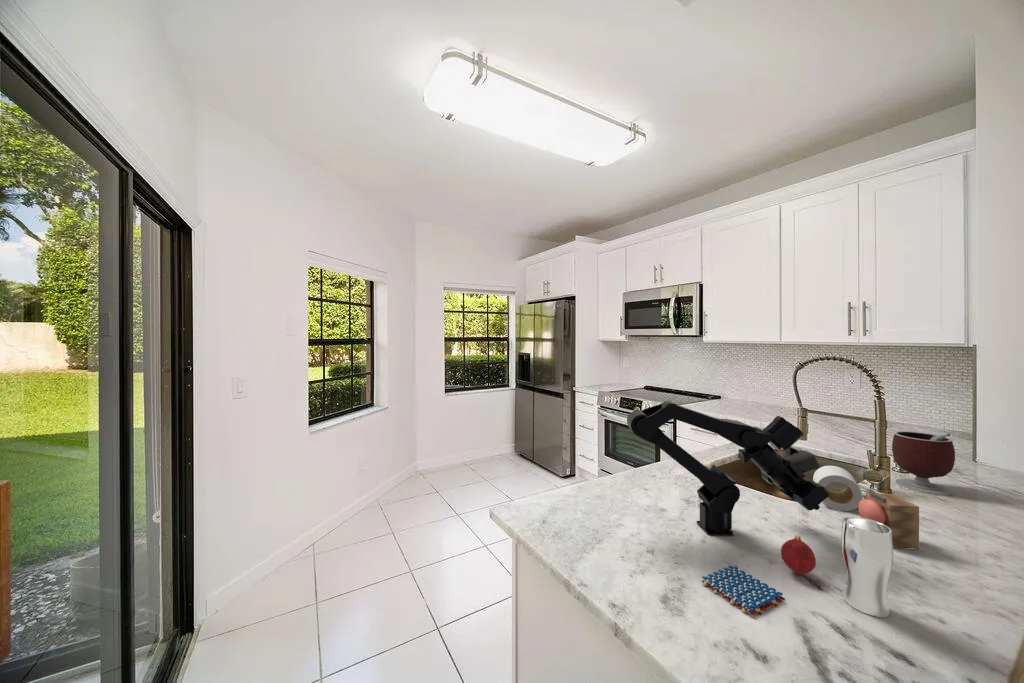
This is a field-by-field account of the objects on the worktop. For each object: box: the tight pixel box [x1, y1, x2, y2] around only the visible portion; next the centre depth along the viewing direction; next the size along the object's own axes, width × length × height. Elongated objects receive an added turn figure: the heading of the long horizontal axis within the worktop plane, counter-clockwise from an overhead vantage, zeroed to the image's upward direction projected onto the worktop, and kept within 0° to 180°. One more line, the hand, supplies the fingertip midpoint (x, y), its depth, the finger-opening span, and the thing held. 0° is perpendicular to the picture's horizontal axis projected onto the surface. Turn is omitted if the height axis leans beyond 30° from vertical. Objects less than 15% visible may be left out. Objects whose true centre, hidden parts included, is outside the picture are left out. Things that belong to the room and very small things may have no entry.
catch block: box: [865, 491, 920, 550], centre depth 90 cm, size 6×7×11 cm
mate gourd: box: [891, 430, 956, 496], centre depth 121 cm, size 16×14×20 cm
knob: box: [857, 498, 886, 524], centre depth 90 cm, size 8×6×6 cm
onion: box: [780, 534, 817, 576], centre depth 77 cm, size 6×6×8 cm
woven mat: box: [701, 565, 786, 618], centre depth 72 cm, size 10×11×2 cm
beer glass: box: [840, 515, 894, 618], centre depth 68 cm, size 7×7×15 cm
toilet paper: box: [812, 465, 863, 512], centre depth 110 cm, size 10×10×10 cm
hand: (817, 508), depth 92 cm, fingers closed
